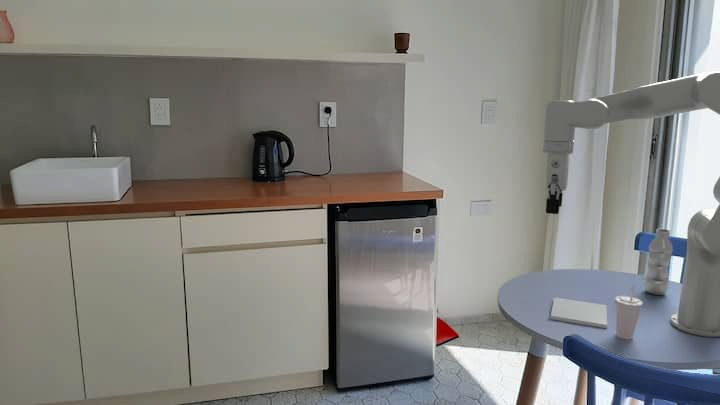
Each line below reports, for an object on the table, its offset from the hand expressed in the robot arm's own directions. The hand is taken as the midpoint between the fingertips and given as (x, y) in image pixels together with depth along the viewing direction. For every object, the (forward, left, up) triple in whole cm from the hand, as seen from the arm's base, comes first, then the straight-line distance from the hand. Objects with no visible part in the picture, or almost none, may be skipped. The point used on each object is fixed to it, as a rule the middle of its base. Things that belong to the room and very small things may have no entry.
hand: (553, 209), depth 146 cm
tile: (-9, 0, -29) cm, 30 cm away
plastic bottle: (-30, -26, -29) cm, 49 cm away
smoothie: (-20, +10, -29) cm, 37 cm away
